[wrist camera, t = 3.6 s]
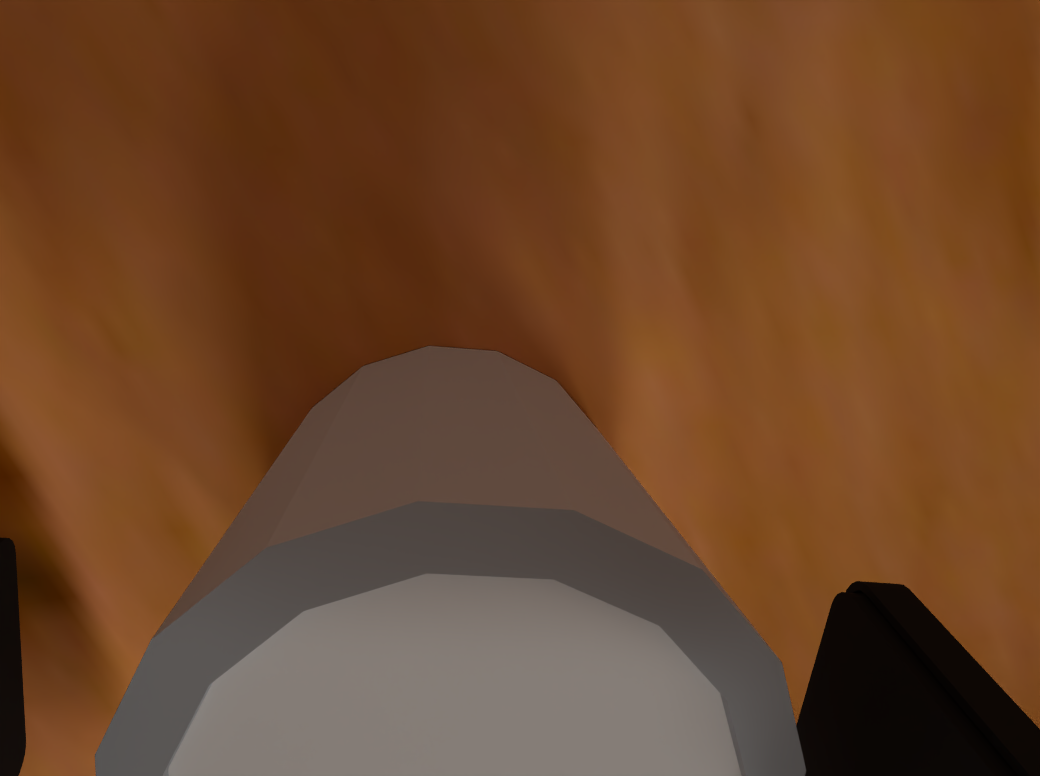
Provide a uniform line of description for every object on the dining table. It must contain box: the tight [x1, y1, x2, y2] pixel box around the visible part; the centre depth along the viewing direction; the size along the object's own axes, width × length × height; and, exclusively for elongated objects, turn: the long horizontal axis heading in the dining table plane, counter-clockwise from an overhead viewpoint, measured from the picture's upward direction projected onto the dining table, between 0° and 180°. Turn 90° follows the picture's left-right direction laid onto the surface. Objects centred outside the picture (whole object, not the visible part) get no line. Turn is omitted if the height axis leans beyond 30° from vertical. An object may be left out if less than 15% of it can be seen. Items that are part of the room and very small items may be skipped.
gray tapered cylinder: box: [95, 346, 806, 776], centre depth 12 cm, size 7×7×7 cm
